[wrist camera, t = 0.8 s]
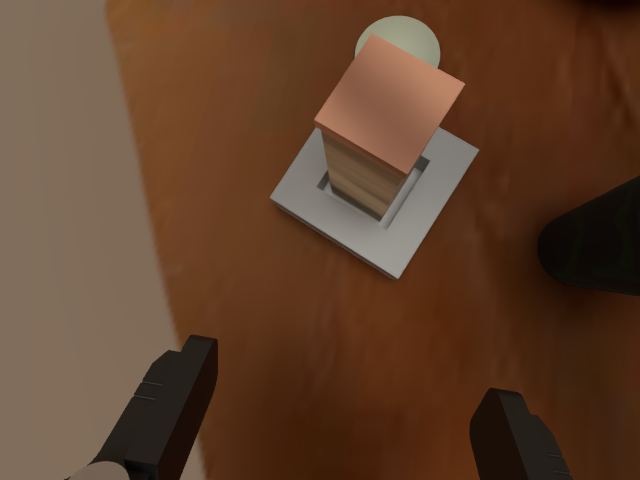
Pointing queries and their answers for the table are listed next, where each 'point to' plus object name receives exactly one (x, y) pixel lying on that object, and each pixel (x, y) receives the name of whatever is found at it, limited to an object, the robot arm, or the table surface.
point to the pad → (405, 37)
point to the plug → (381, 123)
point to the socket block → (400, 219)
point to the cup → (597, 242)
